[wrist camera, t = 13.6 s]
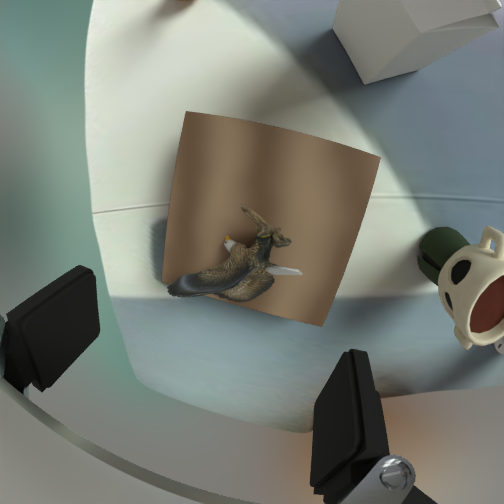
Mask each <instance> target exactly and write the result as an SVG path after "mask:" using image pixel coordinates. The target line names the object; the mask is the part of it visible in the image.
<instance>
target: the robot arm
mask: <svg viewBox="0 0 504 504" xmlns="http://www.w3.org/2000/svg"><path fill="white" fill-rule="evenodd" d="M98 314H99V313H98V303H97V290H96V277H95V275H94V274H93V271H92V270H91V269H89V268H86V267H84V266H81V265H78V266H76V267H75V268H73V269H71V270H70V271H68V272H67V273H65V274H64V275H62V276H61V277H59V278H58V279H56V280H54V281H53V282H51V283H50V284H48V285H47V286H46V287H44V288H43V289H41V290H40V291H38V292H37V293H35V294H34V295H32V296H31V297H29V298H28V299H27V300H25V301H24V302H23V303H21V304H19V305H18V306H17V307H15V308H14V309H13V310H11V311H10V312H8V313H7V314H6V315H7V318H8V321H7V322H6V323H5V320H4V318H3V317H2V316H1V315H0V504H259V503H253V502H249V501H244V500H240V499H235V498H230V497H227V496H223V495H219V494H215V493H212V492H208V491H205V490H201V489H198V488H195V487H192V486H188V485H186V484H183V483H180V482H177V481H174V480H172V479H169V478H166V477H164V476H161V475H159V474H156V473H154V472H152V471H149V470H147V469H145V468H142V467H140V466H138V465H136V464H133V463H131V462H129V461H127V460H125V459H123V458H121V457H119V456H117V455H115V454H113V453H111V452H109V451H107V450H105V449H103V448H101V447H100V446H98V445H96V444H94V443H93V442H91V441H89V440H87V439H86V438H84V437H82V436H81V435H79V434H78V433H76V432H74V431H73V430H71V429H70V428H68V427H67V426H65V425H63V424H62V423H60V422H59V421H57V420H56V419H54V418H53V417H52V416H50V415H49V414H47V413H46V412H45V411H43V410H42V409H41V408H39V407H38V406H37V405H35V404H34V403H33V402H32V401H30V400H29V396H28V395H29V384H30V383H31V382H32V384H33V386H34V387H36V388H37V389H38V390H40V391H41V392H43V391H44V390H45V389H46V388H49V387H51V386H52V385H53V384H54V383H55V382H56V381H57V379H58V378H59V377H60V376H61V375H62V374H63V373H64V372H65V371H66V370H67V369H68V367H69V366H70V365H71V364H72V363H73V362H74V361H75V360H76V359H77V358H78V357H79V356H80V355H81V354H82V353H83V352H84V351H85V349H86V348H87V347H88V346H89V345H90V344H91V343H92V342H93V341H94V340H95V339H96V338H97V337H98V335H99V333H100V323H99V315H98ZM493 345H494V347H495V349H496V350H497V351H498V352H499V353H500V354H504V336H503V337H502V338H500V339H499V340H498V341H496V342H495V343H493ZM310 474H311V475H310V486H312V487H314V494H318V495H324V499H323V501H324V504H437V503H436V502H435V501H433V500H432V499H431V498H430V497H428V496H427V495H425V494H424V493H423V492H422V491H421V490H419V489H418V488H417V487H416V486H414V483H415V477H416V474H415V470H414V468H413V466H412V464H411V463H410V462H409V461H408V460H407V459H405V458H403V457H401V456H397V455H390V453H389V446H388V439H387V433H386V427H385V421H384V415H383V410H382V405H381V399H380V395H379V393H378V392H377V391H375V386H374V381H373V376H372V371H371V367H370V362H369V358H368V354H367V352H366V351H361V350H356V349H350V350H349V351H348V352H344V353H343V354H342V356H341V358H340V360H339V361H338V363H337V365H336V367H335V369H334V370H333V372H332V374H331V376H330V378H329V379H328V381H327V383H326V385H325V386H324V388H323V390H322V391H321V393H320V395H319V396H318V398H317V400H316V402H315V406H314V422H313V443H312V461H311V473H310Z"/></svg>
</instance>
